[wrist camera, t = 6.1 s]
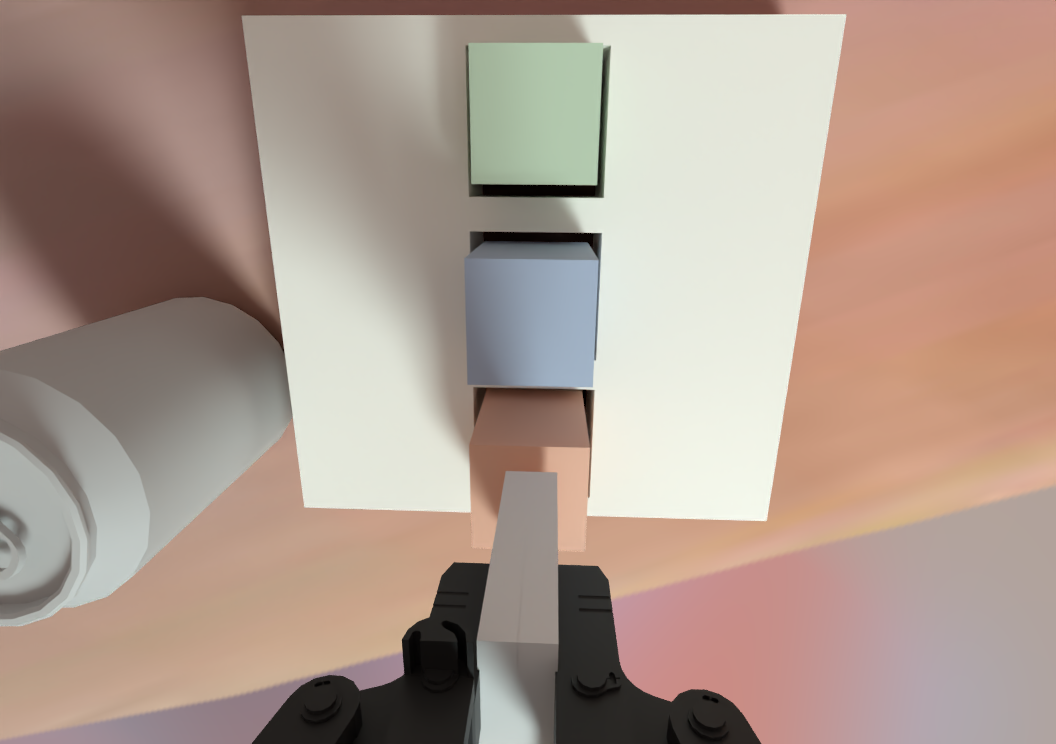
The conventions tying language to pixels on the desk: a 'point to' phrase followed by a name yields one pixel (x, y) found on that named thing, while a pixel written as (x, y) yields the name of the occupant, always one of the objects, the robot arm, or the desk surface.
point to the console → (612, 215)
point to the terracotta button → (530, 457)
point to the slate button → (531, 313)
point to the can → (125, 443)
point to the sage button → (535, 112)
